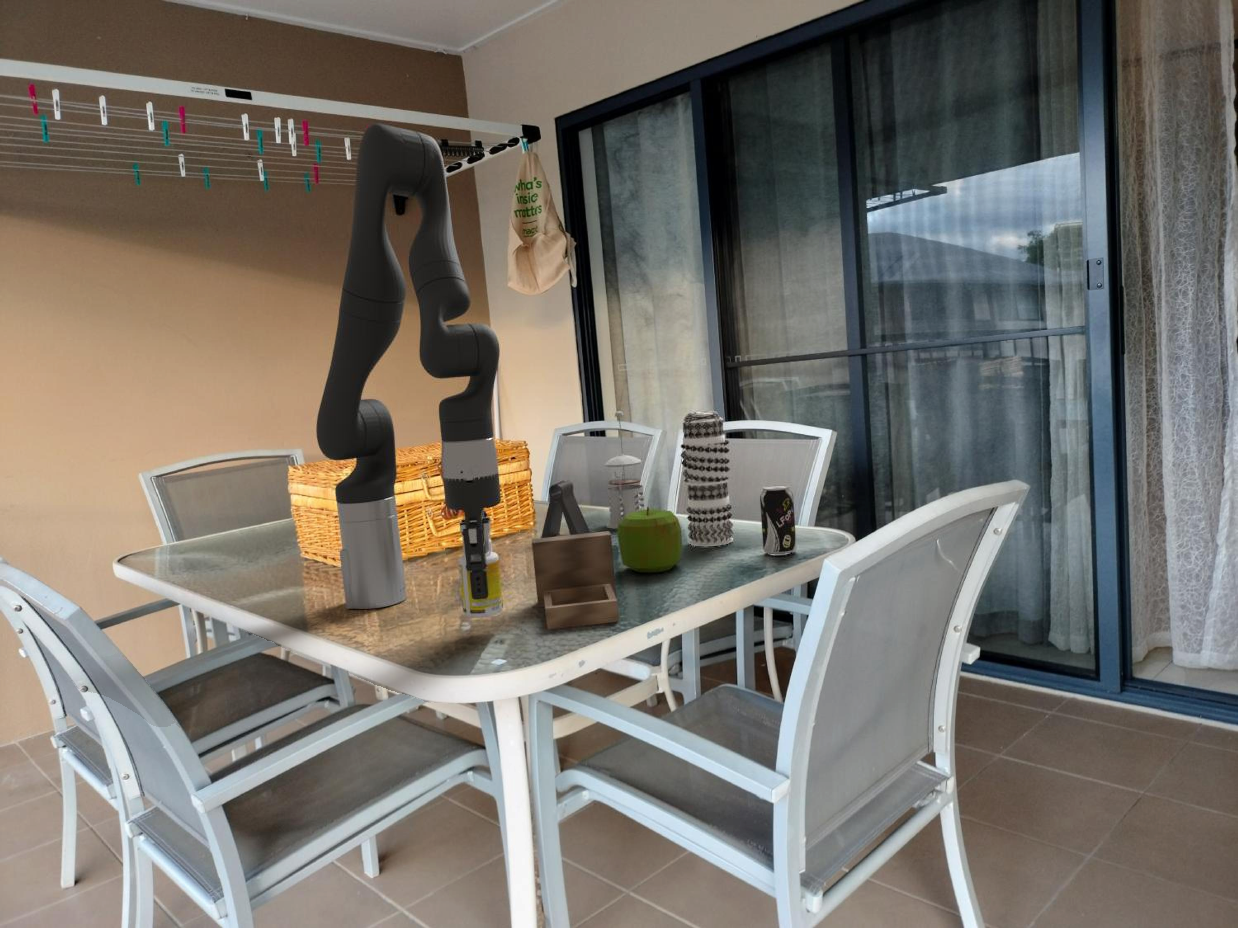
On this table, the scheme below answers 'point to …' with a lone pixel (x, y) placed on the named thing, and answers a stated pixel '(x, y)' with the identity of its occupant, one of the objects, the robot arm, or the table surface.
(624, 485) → the french press
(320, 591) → the table surface
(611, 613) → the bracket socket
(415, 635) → the table surface
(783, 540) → the beverage can
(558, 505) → the phone stand
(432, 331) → the robot arm
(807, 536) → the table surface
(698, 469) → the decorative candle
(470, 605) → the supplement bottle
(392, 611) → the table surface
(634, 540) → the apple
